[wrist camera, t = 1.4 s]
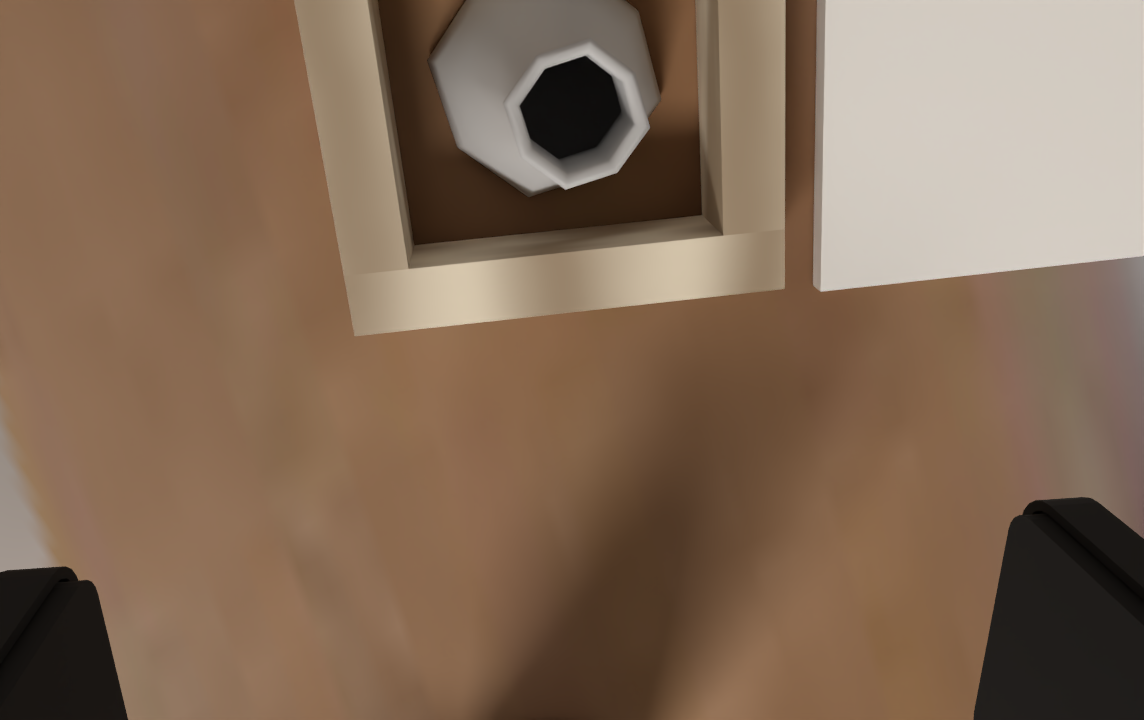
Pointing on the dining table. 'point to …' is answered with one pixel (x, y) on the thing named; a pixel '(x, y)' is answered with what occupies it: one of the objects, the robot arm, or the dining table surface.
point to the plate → (975, 137)
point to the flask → (546, 88)
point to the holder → (562, 257)
